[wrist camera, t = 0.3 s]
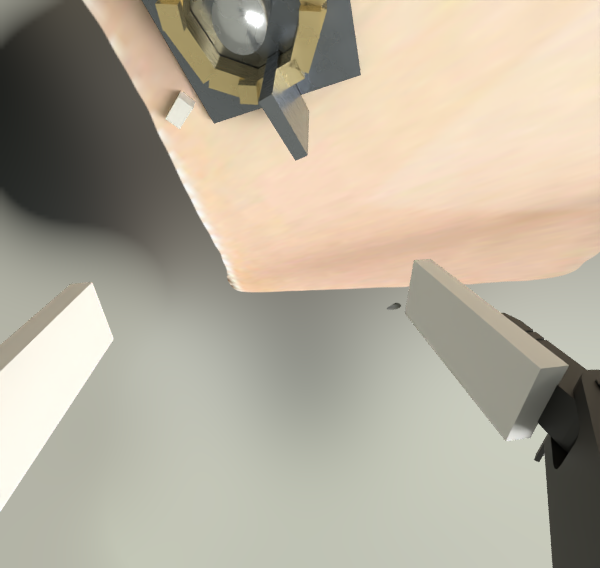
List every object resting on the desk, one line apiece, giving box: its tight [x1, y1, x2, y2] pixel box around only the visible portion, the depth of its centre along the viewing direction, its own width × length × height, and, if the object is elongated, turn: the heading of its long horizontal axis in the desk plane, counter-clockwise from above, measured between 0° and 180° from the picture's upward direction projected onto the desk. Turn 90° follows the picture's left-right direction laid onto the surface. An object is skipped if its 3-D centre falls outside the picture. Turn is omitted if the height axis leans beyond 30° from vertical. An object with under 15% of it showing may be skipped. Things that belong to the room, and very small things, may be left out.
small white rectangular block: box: [166, 91, 195, 129], centre depth 40 cm, size 4×2×2 cm, turn 136°
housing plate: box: [142, 0, 361, 123], centre depth 29 cm, size 20×20×6 cm
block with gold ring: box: [155, 0, 327, 161], centre depth 30 cm, size 20×15×9 cm
